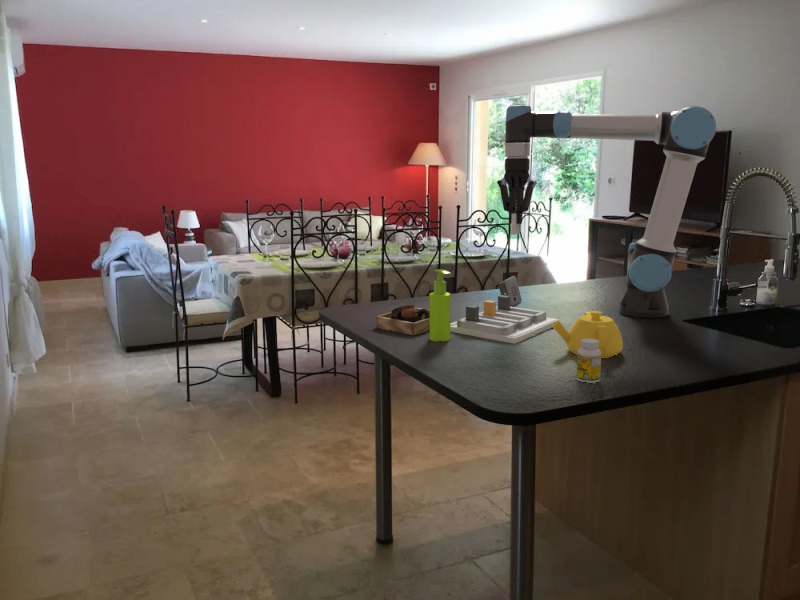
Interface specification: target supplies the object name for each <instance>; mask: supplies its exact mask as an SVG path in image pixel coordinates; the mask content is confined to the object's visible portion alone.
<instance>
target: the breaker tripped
mask: <svg viewBox="0 0 800 600" xmlns="http://www.w3.org/2000/svg"><path fill="white" fill-rule="evenodd" d="M496 307H497V301H495V300H489V299H487V300H484V301H483V309H482V310H483V311H482V312H483V315H489V316H495V317H496V316H497V314H496Z"/></svg>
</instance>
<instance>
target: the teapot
mask: <svg viewBox="0 0 800 600" xmlns="http://www.w3.org/2000/svg"><path fill="white" fill-rule="evenodd" d="M602 313H603V312H601V311H599V310H597V311H596V310H593V311H591V310H590V311H584V315H581V316H580V317H578V318H577V319H576V321H575V322H574V323H573V325H572V326H571V328H570V330H569V331H568V329H566V328H565V326H564V325H563V324H562V322H561V320H560V321H557V322H555V323H554V324H553V325H552V328H553V329H554V330H555V331H556V333H558V335H559V336H560V337H561V338H562V340H563V341H564V342H565V343H566V346H567V348H568V350H569V351H570V352H571V353H572V354H573V353H574V354H573V355H575V354H576V355H575V356H577V352H578V349H580V348H581V345H580V344H581V339H586V338H590V339H596V340H598V341H599V346H598V349H599V350H600V351H601V357H610V356H614V355H616V356H618V355H619V354H618V353H621V352H622V350H623V348H624V344H623V343H624V342H623V337H622V334H621V331H620V329H619V327H618V326H617V324H616V322H615V320H614V319H613V318H611V317H610V316H606V315H602Z"/></svg>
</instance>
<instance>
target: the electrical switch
mask: <svg viewBox="0 0 800 600" xmlns="http://www.w3.org/2000/svg"><path fill="white" fill-rule="evenodd" d="M497 285H498V289H499V292H500V296H501V295H505V296H510V307H515V306H516V305H517V304H519V303H521V302H522V301H523V300H522V299H523V298H522V295H521V291H520V287H519V283H518V280H517V277H516V275H512V276H511V277H508V278H506V279H504V280H502V281H501V282H499V283H498V284H497Z"/></svg>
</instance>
